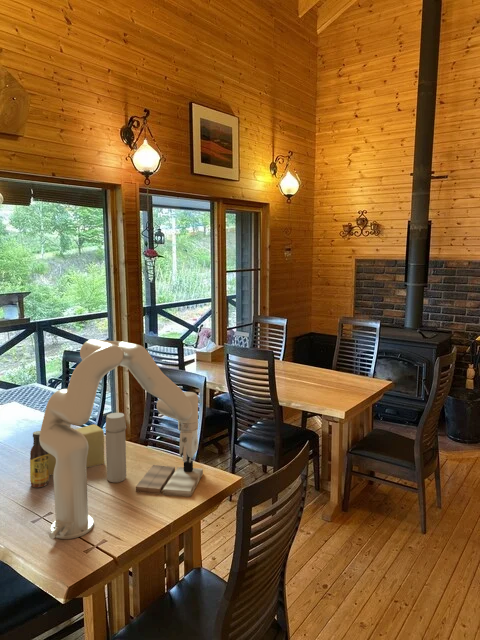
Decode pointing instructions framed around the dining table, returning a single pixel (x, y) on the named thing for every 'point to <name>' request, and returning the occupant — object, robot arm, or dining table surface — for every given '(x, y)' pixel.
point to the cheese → (94, 447)
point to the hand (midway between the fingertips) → (188, 470)
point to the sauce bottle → (38, 463)
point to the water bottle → (115, 447)
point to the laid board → (155, 479)
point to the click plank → (183, 482)
